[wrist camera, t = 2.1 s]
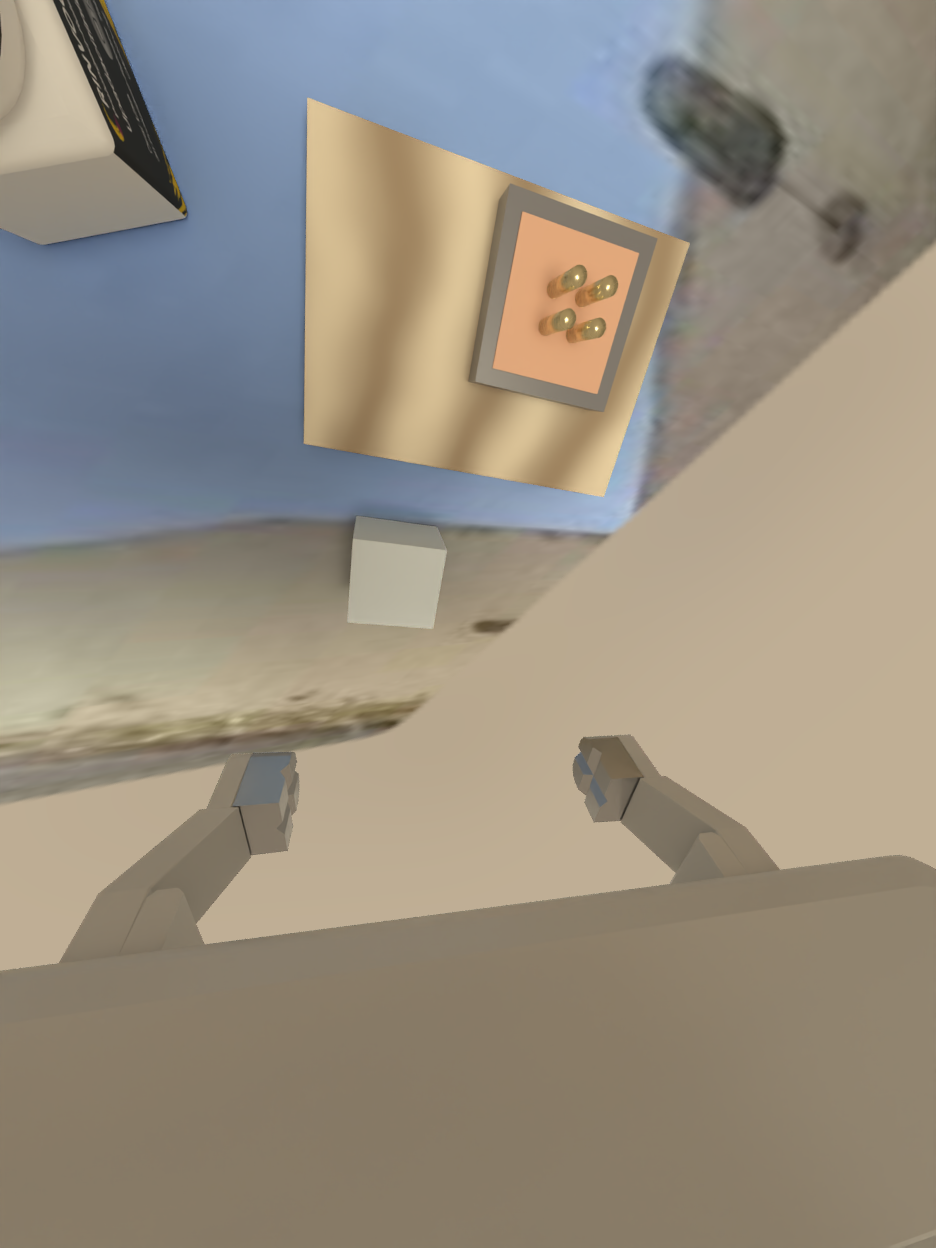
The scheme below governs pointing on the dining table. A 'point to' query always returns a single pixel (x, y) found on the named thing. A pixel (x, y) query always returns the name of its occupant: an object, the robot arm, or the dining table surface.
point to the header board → (470, 311)
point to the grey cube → (395, 573)
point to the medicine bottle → (75, 128)
